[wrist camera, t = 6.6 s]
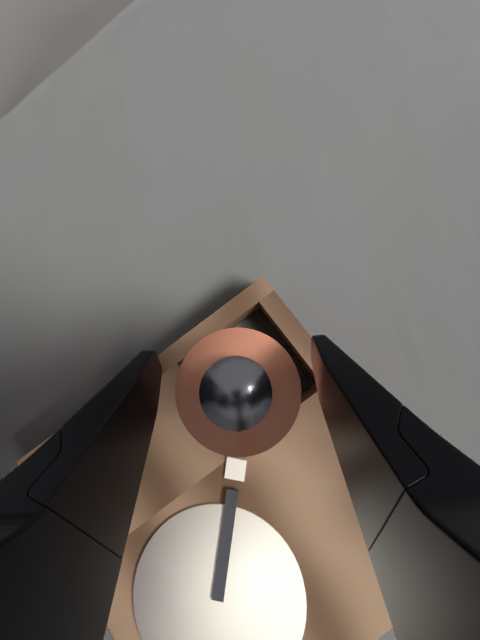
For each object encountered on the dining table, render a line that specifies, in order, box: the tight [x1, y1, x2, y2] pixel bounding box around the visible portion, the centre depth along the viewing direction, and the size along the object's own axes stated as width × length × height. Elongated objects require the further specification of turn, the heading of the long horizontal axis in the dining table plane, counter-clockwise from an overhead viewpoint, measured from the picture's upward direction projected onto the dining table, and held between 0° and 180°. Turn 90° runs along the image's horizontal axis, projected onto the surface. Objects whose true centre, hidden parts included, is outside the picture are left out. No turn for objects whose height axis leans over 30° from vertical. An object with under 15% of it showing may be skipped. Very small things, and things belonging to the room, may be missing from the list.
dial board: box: [16, 276, 393, 640], centre depth 18 cm, size 20×20×3 cm
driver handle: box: [175, 327, 301, 457], centre depth 14 cm, size 4×4×11 cm
